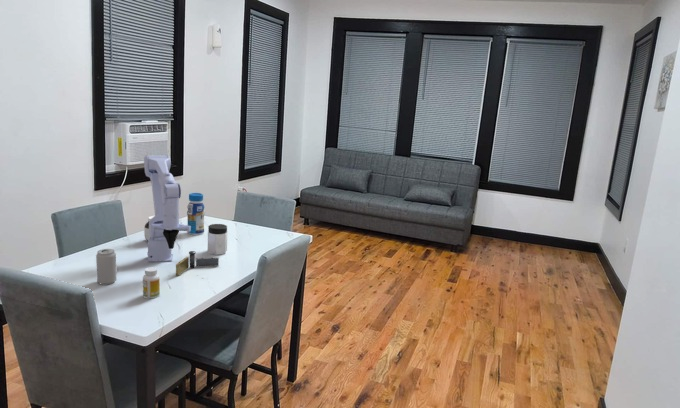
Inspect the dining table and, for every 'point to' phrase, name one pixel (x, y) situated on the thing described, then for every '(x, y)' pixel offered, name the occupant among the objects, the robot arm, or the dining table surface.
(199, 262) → the hinge base
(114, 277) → the beverage can
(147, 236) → the spread jar
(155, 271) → the supplement bottle
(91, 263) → the dining table surface
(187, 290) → the dining table surface
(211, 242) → the jar
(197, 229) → the beverage bottle
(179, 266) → the brass leaf
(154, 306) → the dining table surface
